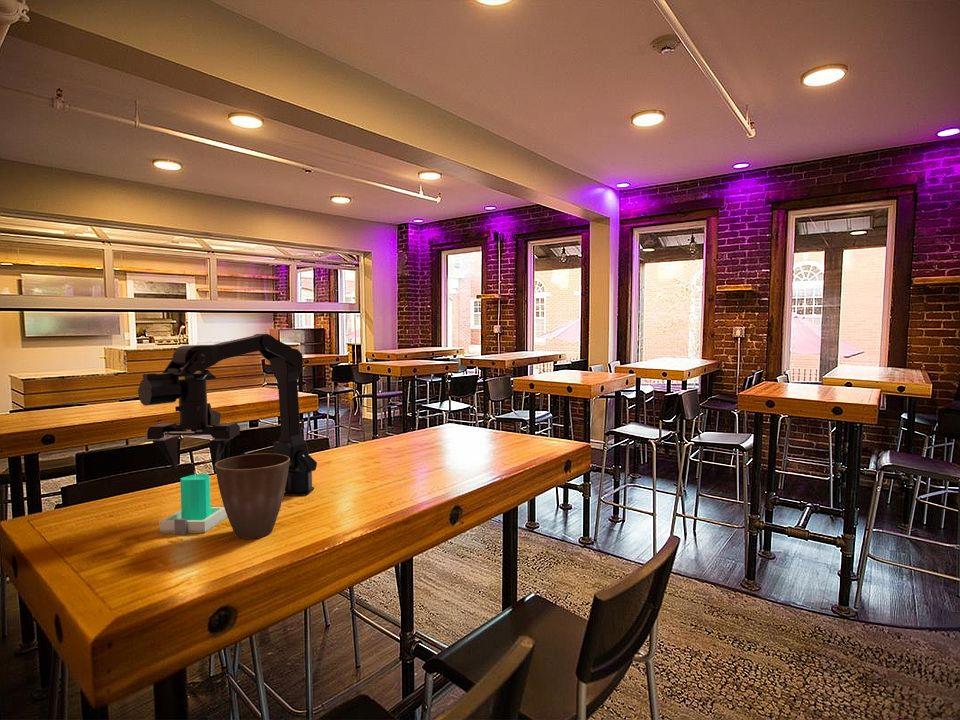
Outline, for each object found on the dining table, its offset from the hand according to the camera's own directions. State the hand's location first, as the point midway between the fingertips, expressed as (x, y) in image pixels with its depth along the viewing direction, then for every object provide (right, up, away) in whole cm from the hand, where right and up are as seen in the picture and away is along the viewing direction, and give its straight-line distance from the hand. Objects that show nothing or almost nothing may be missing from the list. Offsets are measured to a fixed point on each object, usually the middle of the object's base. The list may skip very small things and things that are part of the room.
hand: (195, 468), depth 121 cm
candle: (0, -12, 0) cm, 12 cm away
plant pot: (+16, -13, -6) cm, 22 cm away
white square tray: (0, -13, 0) cm, 13 cm away
